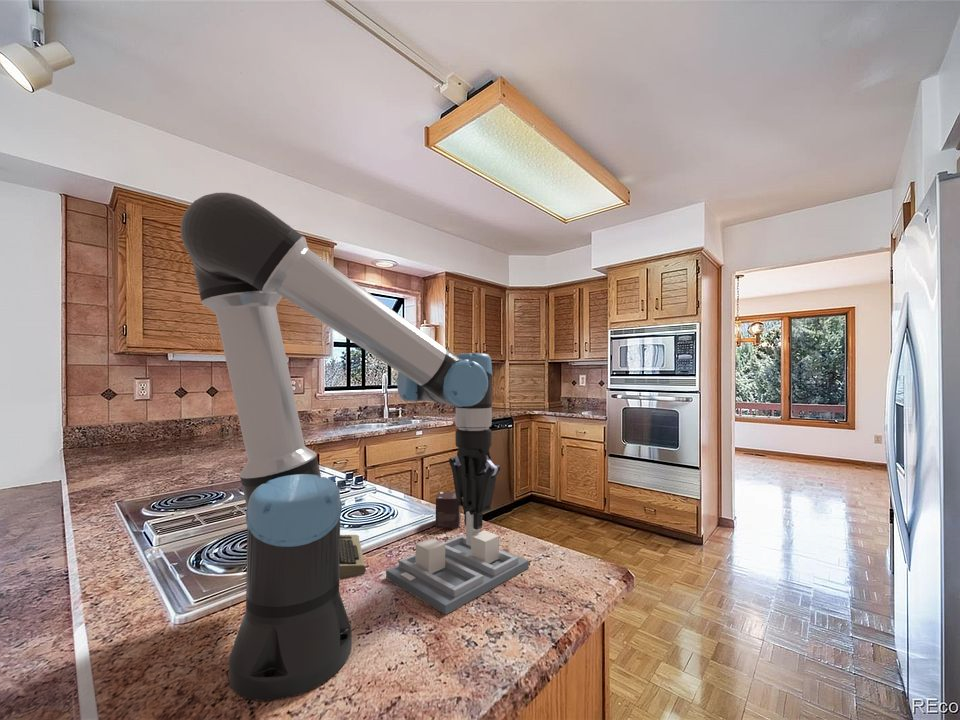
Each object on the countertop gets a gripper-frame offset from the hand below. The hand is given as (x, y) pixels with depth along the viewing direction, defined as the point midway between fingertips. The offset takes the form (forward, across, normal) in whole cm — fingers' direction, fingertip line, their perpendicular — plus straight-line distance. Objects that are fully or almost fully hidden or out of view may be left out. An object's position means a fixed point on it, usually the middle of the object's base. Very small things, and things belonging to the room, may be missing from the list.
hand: (473, 543), depth 84 cm
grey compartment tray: (+4, -1, +5) cm, 6 cm away
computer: (+5, +20, +18) cm, 28 cm away
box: (+4, +20, -11) cm, 23 cm away
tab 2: (+2, -3, 0) cm, 4 cm away
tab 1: (+2, +1, +10) cm, 10 cm away
